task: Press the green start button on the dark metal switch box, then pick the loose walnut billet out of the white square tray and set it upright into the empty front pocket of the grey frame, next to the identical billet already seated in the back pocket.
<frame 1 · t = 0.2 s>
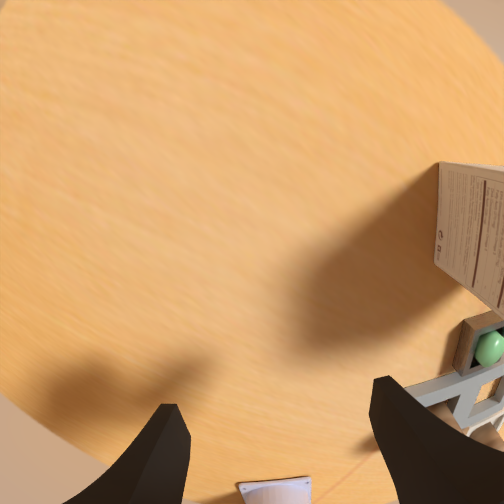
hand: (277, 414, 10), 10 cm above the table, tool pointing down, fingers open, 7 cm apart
start button: (488, 347, 20), point 2 cm above the table, slide at 0.0 cm
switch box: (478, 336, 21), on the table
white square tray: (478, 429, 27), on the table
grey frame: (458, 398, 24), on the table
supplement box: (471, 211, 18), on the table
billet a: (426, 409, 24), resting in grey frame
billet b: (479, 431, 27), resting on white square tray
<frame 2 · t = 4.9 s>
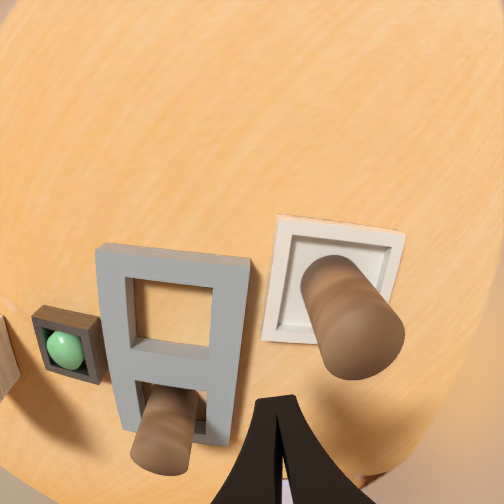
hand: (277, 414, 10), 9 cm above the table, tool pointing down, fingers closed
start button: (68, 346, 19), point 1 cm above the table, slide at 0.7 cm
switch box: (74, 338, 20), on the table
white square tray: (329, 281, 19), on the table
grey frame: (173, 358, 21), on the table
billet a: (175, 396, 22), resting in grey frame
billet b: (331, 284, 18), resting on white square tray
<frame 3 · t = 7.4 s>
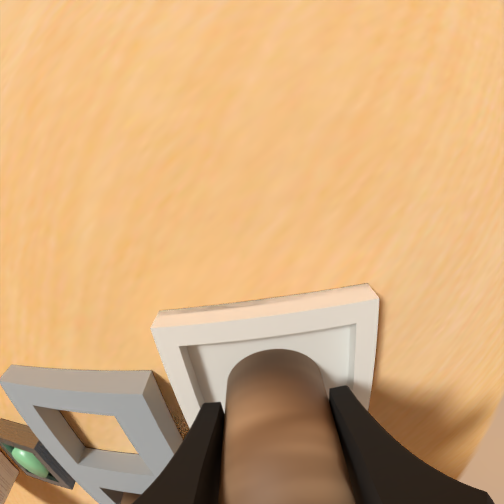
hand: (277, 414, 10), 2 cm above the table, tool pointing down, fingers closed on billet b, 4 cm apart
start button: (33, 456, 14), point 1 cm above the table, slide at 0.7 cm
switch box: (38, 446, 15), on the table
white square tray: (274, 379, 12), on the table
grey frame: (129, 464, 15), on the table
billet a: (151, 492, 16), resting in grey frame
billet b: (274, 385, 12), resting on white square tray, touching gripper
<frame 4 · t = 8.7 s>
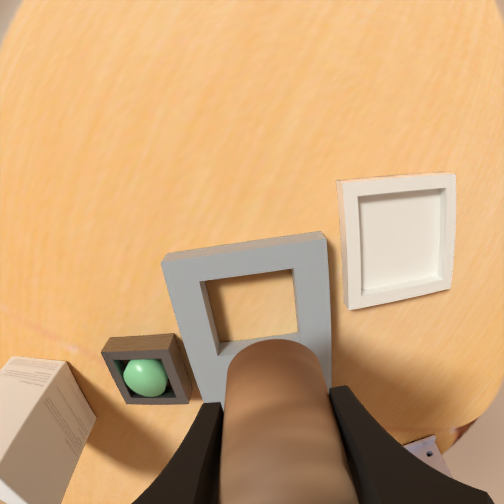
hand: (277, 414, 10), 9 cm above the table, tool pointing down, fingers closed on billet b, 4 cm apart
start button: (147, 373, 20), point 1 cm above the table, slide at 0.7 cm
switch box: (151, 363, 21), on the table
white square tray: (397, 236, 18), on the table
grey frame: (261, 354, 20), on the table
supplement box: (54, 386, 22), on the table
billet b: (274, 376, 12), point 7 cm above the table, touching gripper
when the fingers open (3 cm above the table, at t = 10.5 s): billet b stays where it is, resting in grey frame.
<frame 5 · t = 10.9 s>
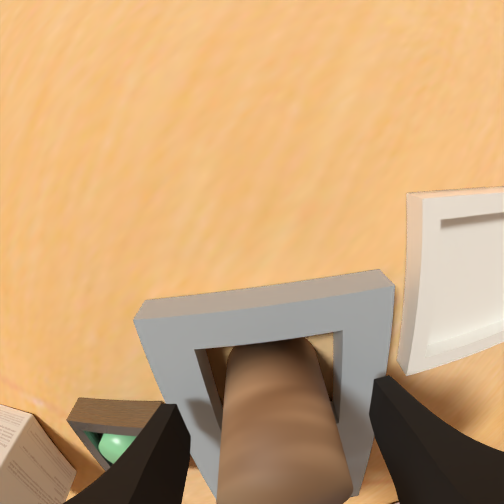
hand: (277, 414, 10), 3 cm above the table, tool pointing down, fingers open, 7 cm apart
start button: (129, 444, 13), point 1 cm above the table, slide at 0.7 cm
switch box: (134, 430, 14), on the table
white square tray: (473, 272, 11), on the table
grey frame: (281, 426, 14), on the table
supplement box: (25, 434, 16), on the table
billet b: (272, 366, 13), resting in grey frame
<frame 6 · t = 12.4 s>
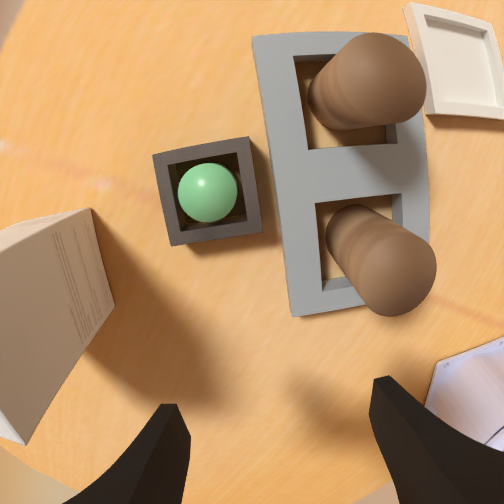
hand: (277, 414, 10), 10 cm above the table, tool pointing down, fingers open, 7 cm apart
start button: (209, 190, 16), point 1 cm above the table, slide at 0.7 cm
switch box: (211, 188, 17), on the table
white square tray: (459, 64, 14), on the table
grey frame: (349, 169, 17), on the table
supplement box: (63, 263, 19), on the table
billet a: (354, 235, 18), resting in grey frame
billet b: (339, 98, 16), resting in grey frame
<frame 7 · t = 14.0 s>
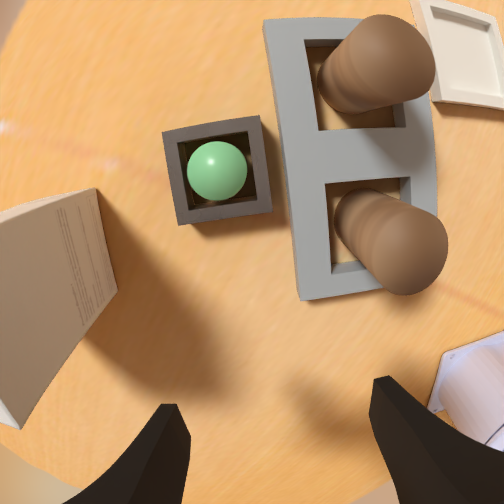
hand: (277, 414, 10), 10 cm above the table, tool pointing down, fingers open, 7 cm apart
start button: (218, 169, 16), point 1 cm above the table, slide at 0.7 cm
switch box: (220, 168, 17), on the table
white square tray: (464, 55, 14), on the table
grey frame: (358, 153, 17), on the table
supplement box: (65, 246, 19), on the table
billet a: (363, 219, 18), resting in grey frame
billet b: (348, 83, 15), resting in grey frame
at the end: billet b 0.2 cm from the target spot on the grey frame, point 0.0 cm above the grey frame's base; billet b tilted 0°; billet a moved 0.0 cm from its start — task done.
